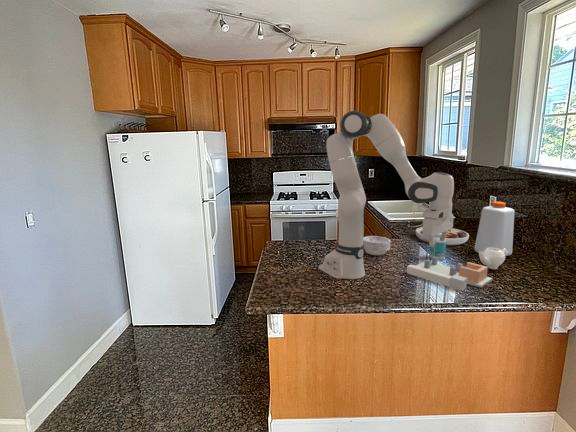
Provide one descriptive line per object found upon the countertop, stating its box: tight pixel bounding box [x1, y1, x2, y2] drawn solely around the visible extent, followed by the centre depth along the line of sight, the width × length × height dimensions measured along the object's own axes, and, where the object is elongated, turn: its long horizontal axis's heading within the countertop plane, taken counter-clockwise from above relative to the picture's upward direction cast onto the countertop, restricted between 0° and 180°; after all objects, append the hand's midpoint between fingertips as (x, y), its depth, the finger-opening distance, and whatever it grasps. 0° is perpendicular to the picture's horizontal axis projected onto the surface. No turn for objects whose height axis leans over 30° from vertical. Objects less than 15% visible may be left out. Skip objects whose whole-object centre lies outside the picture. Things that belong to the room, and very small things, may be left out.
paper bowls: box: [363, 235, 391, 256], centre depth 186 cm, size 15×15×8 cm
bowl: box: [415, 226, 470, 246], centre depth 211 cm, size 30×30×8 cm
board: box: [415, 257, 493, 289], centre depth 156 cm, size 30×12×6 cm, turn 41°
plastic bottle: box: [473, 201, 515, 257], centre depth 183 cm, size 15×15×28 cm
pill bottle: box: [428, 233, 447, 261], centre depth 176 cm, size 8×7×14 cm
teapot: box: [478, 247, 508, 270], centre depth 163 cm, size 10×20×9 cm, turn 112°
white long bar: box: [406, 264, 468, 292], centre depth 149 cm, size 25×4×4 cm, turn 41°
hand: (437, 242), depth 146 cm, fingers open, 8 cm apart
